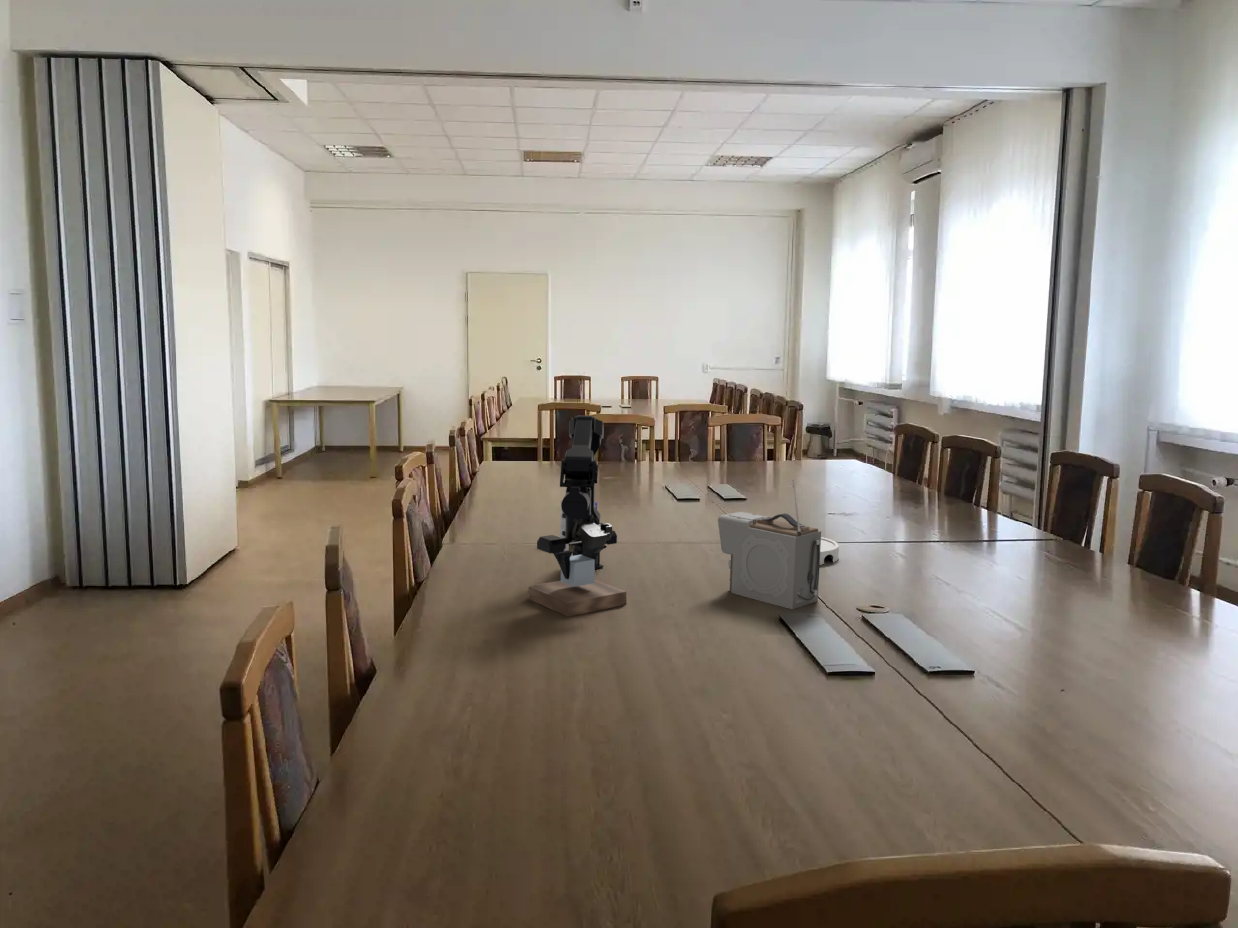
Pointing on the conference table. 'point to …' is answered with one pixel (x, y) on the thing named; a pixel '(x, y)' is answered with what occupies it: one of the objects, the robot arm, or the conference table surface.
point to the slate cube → (580, 571)
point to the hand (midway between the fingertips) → (577, 576)
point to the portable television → (772, 558)
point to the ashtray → (828, 549)
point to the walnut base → (577, 597)
